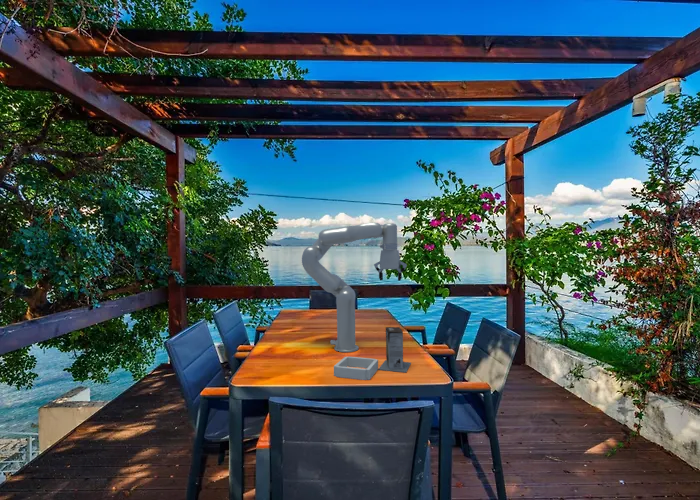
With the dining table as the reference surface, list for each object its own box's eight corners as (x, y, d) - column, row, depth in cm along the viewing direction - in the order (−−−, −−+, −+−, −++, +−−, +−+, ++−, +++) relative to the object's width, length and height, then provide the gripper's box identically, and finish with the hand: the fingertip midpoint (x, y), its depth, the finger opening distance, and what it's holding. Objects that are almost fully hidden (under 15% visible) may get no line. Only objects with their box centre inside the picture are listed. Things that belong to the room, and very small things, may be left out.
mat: (378, 370, 150) (378, 369, 150) (385, 361, 163) (385, 360, 163) (406, 372, 146) (406, 371, 146) (411, 363, 159) (411, 362, 159)
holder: (333, 376, 143) (333, 366, 143) (345, 365, 157) (345, 356, 157) (369, 380, 138) (368, 370, 138) (378, 368, 152) (378, 359, 152)
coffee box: (385, 362, 159) (385, 326, 159) (399, 362, 159) (399, 326, 159) (388, 369, 150) (388, 331, 150) (403, 368, 150) (403, 331, 150)
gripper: (371, 247, 182) (372, 280, 182) (404, 247, 176) (405, 281, 175) (376, 247, 189) (376, 279, 189) (407, 247, 183) (408, 280, 182)
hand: (390, 280), depth 182 cm, fingers open, 9 cm apart
